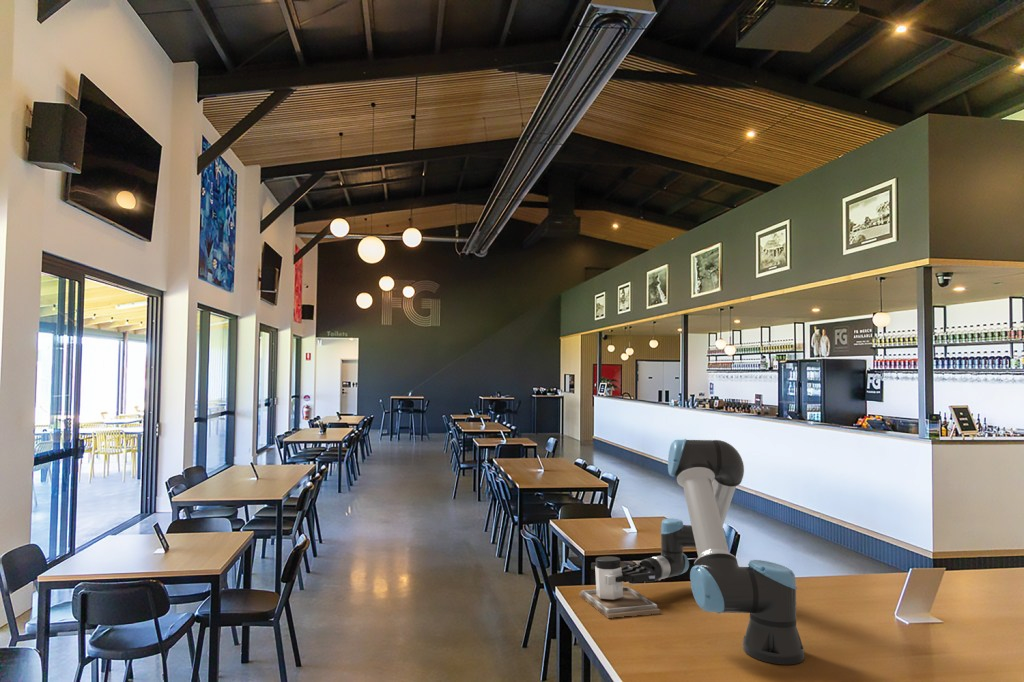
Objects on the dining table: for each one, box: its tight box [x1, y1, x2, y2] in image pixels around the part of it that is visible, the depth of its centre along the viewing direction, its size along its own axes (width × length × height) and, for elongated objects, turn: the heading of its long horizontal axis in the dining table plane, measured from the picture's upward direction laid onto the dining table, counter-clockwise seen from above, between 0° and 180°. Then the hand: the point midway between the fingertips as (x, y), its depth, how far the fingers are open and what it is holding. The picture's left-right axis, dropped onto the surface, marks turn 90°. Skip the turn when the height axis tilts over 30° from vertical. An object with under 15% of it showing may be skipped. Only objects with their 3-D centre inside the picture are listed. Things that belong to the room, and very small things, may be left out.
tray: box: [578, 586, 661, 619], centre depth 202 cm, size 22×18×2 cm
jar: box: [594, 555, 624, 600], centre depth 205 cm, size 9×8×12 cm
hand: (606, 580), depth 199 cm, fingers closed on jar
